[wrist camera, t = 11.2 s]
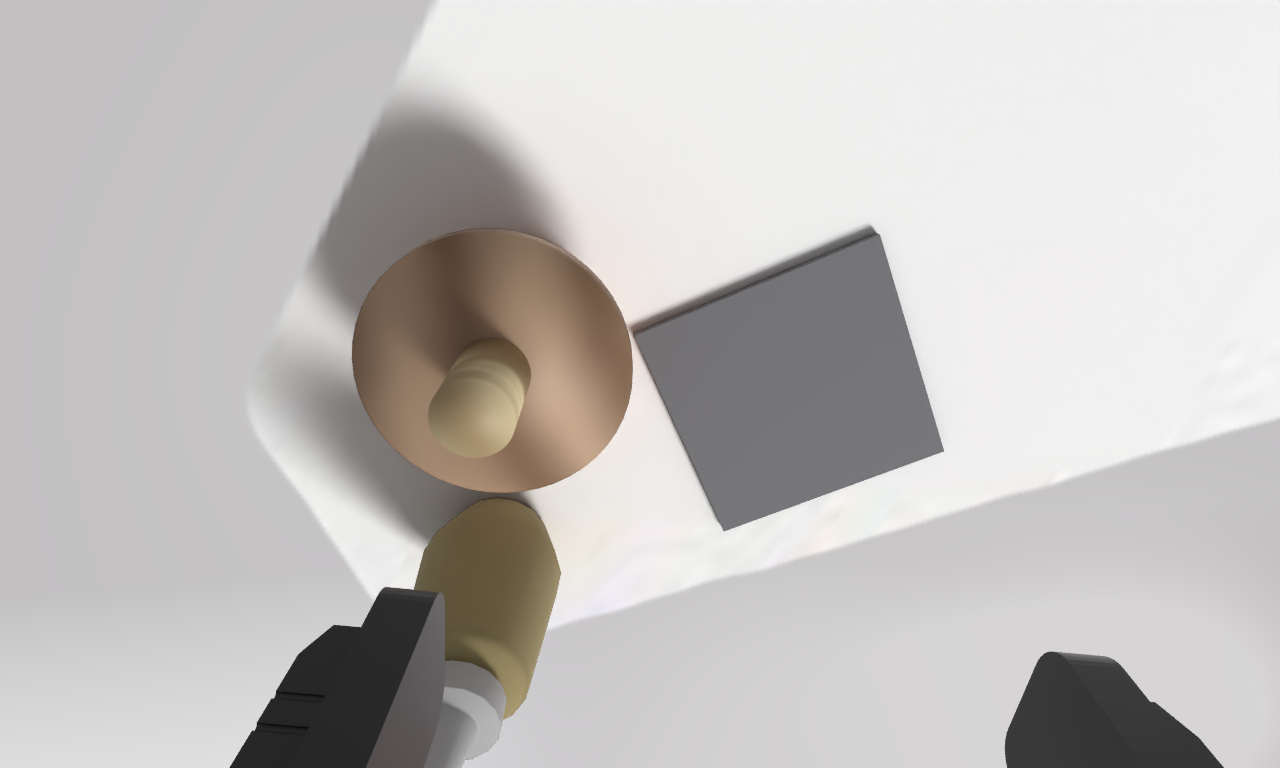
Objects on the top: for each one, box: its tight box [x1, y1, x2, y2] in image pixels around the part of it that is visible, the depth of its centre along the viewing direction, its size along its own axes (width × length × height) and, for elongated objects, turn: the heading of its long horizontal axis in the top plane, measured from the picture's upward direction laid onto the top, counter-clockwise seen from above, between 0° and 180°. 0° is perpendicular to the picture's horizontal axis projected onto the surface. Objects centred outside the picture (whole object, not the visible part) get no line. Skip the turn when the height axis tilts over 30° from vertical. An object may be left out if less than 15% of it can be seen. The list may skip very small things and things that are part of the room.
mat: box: [634, 233, 944, 531], centre depth 41 cm, size 14×14×1 cm
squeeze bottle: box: [414, 498, 561, 768], centre depth 37 cm, size 8×8×18 cm
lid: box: [352, 228, 633, 493], centre depth 32 cm, size 13×13×6 cm
